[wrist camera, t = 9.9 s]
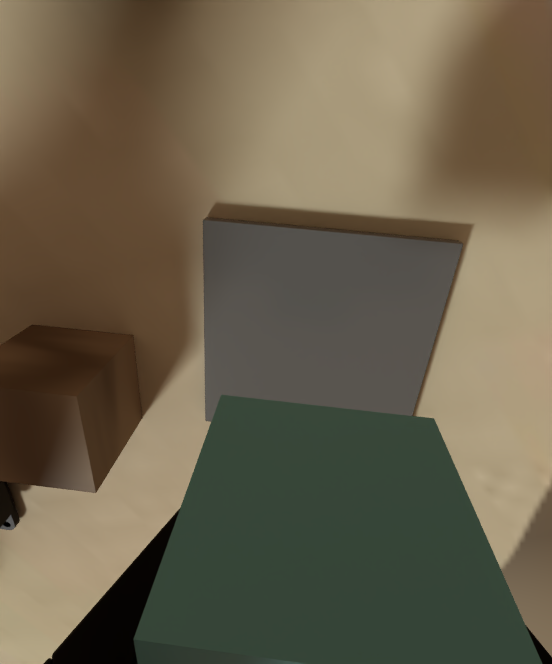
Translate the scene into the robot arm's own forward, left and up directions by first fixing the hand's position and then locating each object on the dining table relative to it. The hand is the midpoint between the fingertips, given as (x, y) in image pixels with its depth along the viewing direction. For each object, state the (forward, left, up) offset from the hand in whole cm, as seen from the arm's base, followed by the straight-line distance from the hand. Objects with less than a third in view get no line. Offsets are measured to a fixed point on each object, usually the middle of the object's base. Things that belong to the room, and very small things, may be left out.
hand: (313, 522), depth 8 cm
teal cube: (0, 0, -1) cm, 1 cm away
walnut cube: (-10, -3, -9) cm, 13 cm away
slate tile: (0, 0, -8) cm, 8 cm away
